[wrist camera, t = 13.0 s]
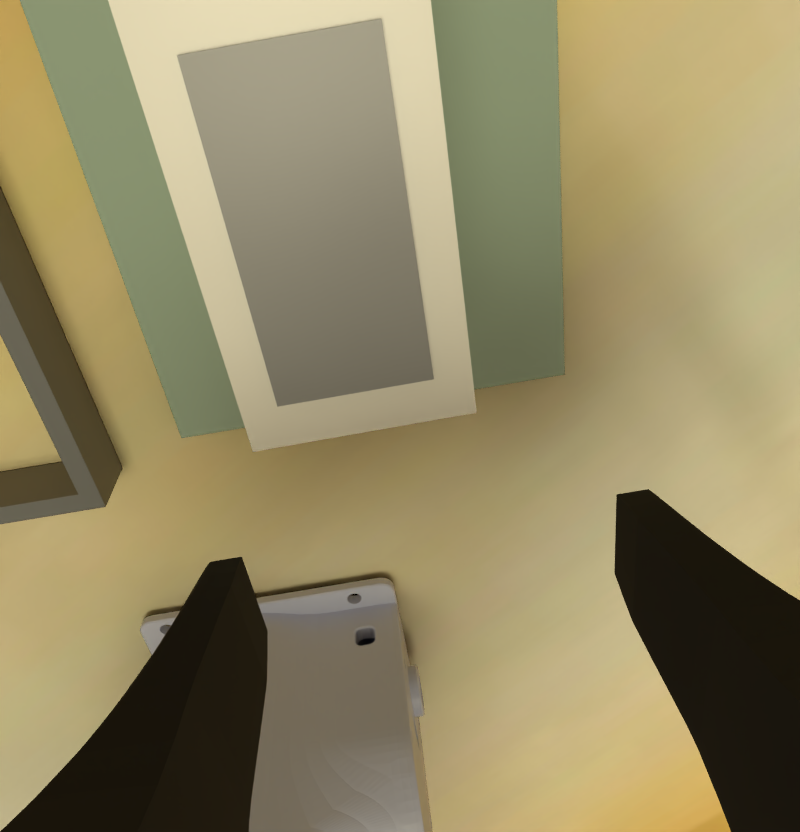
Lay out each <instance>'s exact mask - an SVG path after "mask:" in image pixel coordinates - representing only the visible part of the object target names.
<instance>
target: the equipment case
mask: <svg viewBox="0 0 800 832" xmlns="http://www.w3.org/2000/svg"><path fill="white" fill-rule="evenodd" d="M0 335H1V337H2V339H3V341H4V343H5V345H6V347H7V349H8V351H9V353H10V355H11V357H12V359H13V361H14V363H15V366H16V368H17V370H18V372H19V374H20V376H21V378H22V380H23V382H24V384H25V386H26V388H27V390H28V392H29V394H30V396H31V398H32V400H33V402H34V404H35V407H36V409H37V411H38V413H39V415H40V417H41V419H42V421H43V423H44V425H45V427H46V429H47V431H48V433H49V435H50V437H51V439H52V441H53V443H54V445H55V448H56V450H57V452H58V454H59V456H60V458H61V460H62V462H59V463H53V464H47V465H41V466H35V467H29V468H23V469H17V470H11V471H5V472H0V524H5V523H11V522H17V521H23V520H29V519H35V518H41V517H47V516H53V515H59V514H65V513H71V512H77V511H83V510H89V509H95V508H101V507H106V505H107V502H108V500H109V498H110V495H111V493H112V491H113V488H114V486H115V484H116V481H117V479H118V477H119V475H120V472H121V470H122V466H121V464H120V462H119V459H118V457H117V455H116V452H115V450H114V448H113V445H112V443H111V441H110V439H109V436H108V434H107V432H106V429H105V427H104V425H103V422H102V420H101V418H100V416H99V413H98V411H97V409H96V406H95V404H94V402H93V399H92V397H91V395H90V393H89V390H88V388H87V386H86V383H85V381H84V379H83V376H82V374H81V372H80V370H79V367H78V365H77V363H76V360H75V358H74V356H73V353H72V351H71V349H70V347H69V344H68V342H67V340H66V337H65V335H64V333H63V330H62V328H61V326H60V324H59V321H58V319H57V317H56V314H55V312H54V310H53V307H52V305H51V303H50V301H49V298H48V296H47V294H46V291H45V289H44V287H43V284H42V282H41V280H40V278H39V275H38V273H37V271H36V268H35V266H34V264H33V261H32V259H31V257H30V255H29V252H28V250H27V248H26V245H25V243H24V241H23V238H22V236H21V234H20V232H19V229H18V227H17V225H16V222H15V220H14V218H13V215H12V213H11V211H10V209H9V206H8V204H7V202H6V199H5V197H4V195H3V192H2V190H1V188H0Z"/></svg>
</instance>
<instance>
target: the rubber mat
mask: <svg viewBox="0 0 800 832" xmlns="http://www.w3.org/2000/svg"><path fill="white" fill-rule="evenodd" d="M20 2H21V5H22V7H23V10H24V13H25V16H26V18H27V21H28V24H29V26H30V29H31V32H32V35H33V37H34V40H35V43H36V45H37V48H38V51H39V53H40V56H41V59H42V62H43V64H44V67H45V70H46V72H47V75H48V78H49V81H50V83H51V86H52V89H53V91H54V94H55V97H56V99H57V102H58V105H59V108H60V110H61V113H62V116H63V118H64V121H65V124H66V127H67V129H68V132H69V135H70V137H71V140H72V143H73V146H74V148H75V151H76V154H77V156H78V159H79V162H80V164H81V167H82V170H83V173H84V175H85V178H86V181H87V183H88V186H89V189H90V192H91V194H92V197H93V200H94V202H95V205H96V208H97V211H98V213H99V216H100V219H101V221H102V224H103V227H104V229H105V232H106V235H107V238H108V240H109V243H110V246H111V248H112V251H113V254H114V257H115V259H116V262H117V265H118V267H119V270H120V273H121V276H122V278H123V281H124V284H125V286H126V289H127V292H128V294H129V297H130V300H131V303H132V305H133V308H134V311H135V313H136V316H137V319H138V322H139V324H140V327H141V330H142V332H143V335H144V338H145V341H146V343H147V346H148V349H149V351H150V354H151V357H152V359H153V362H154V365H155V368H156V370H157V373H158V376H159V378H160V381H161V384H162V387H163V389H164V392H165V395H166V397H167V400H168V403H169V405H170V408H171V411H172V414H173V416H174V419H175V422H176V424H177V427H178V430H179V433H180V435H181V438H185V437H192V436H198V435H204V434H210V433H216V432H222V431H228V430H234V429H240V428H245V426H244V423H243V420H242V416H241V413H240V410H239V407H238V404H237V401H236V398H235V395H234V392H233V388H232V385H231V382H230V379H229V376H228V373H227V370H226V367H225V364H224V360H223V357H222V354H221V351H220V348H219V345H218V342H217V339H216V336H215V332H214V329H213V326H212V323H211V320H210V317H209V314H208V311H207V307H206V304H205V301H204V298H203V295H202V292H201V289H200V286H199V283H198V279H197V276H196V273H195V270H194V267H193V264H192V261H191V258H190V255H189V251H188V248H187V245H186V242H185V239H184V236H183V233H182V230H181V227H180V223H179V220H178V217H177V214H176V211H175V208H174V205H173V202H172V199H171V195H170V192H169V189H168V186H167V183H166V180H165V177H164V174H163V171H162V167H161V164H160V161H159V158H158V155H157V152H156V149H155V146H154V143H153V139H152V136H151V133H150V130H149V127H148V124H147V121H146V118H145V115H144V111H143V108H142V105H141V102H140V99H139V96H138V93H137V90H136V86H135V83H134V80H133V77H132V74H131V71H130V68H129V65H128V62H127V58H126V55H125V52H124V49H123V46H122V43H121V40H120V37H119V34H118V30H117V27H116V24H115V21H114V18H113V15H112V12H111V9H110V6H109V2H108V0H20ZM431 7H432V16H433V25H434V34H435V43H436V52H437V61H438V70H439V79H440V88H441V96H442V105H443V114H444V123H445V132H446V141H447V150H448V159H449V168H450V177H451V186H452V195H453V204H454V213H455V222H456V231H457V240H458V249H459V258H460V267H461V276H462V285H463V294H464V303H465V312H466V321H467V330H468V339H469V348H470V357H471V366H472V375H473V384H474V389H480V388H486V387H492V386H498V385H504V384H510V383H516V382H522V381H528V380H534V379H541V378H547V377H553V376H559V375H565V367H564V319H563V271H562V222H561V174H560V126H559V77H558V29H557V0H431Z"/></svg>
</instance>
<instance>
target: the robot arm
mask: <svg viewBox="0 0 800 832" xmlns="http://www.w3.org/2000/svg"><path fill="white" fill-rule="evenodd" d="M615 575H616V578H617V581H618V584H619V586H620V589H621V592H622V595H623V597H624V600H625V603H626V605H627V608H628V611H629V613H630V616H631V618H632V621H633V623H634V625H635V627H636V629H637V631H638V633H639V635H640V637H641V639H642V641H643V642H644V644H645V646H646V648H647V650H648V652H649V654H650V656H651V658H652V660H653V662H654V664H655V666H656V667H657V669H658V671H659V673H660V675H661V677H662V679H663V681H664V683H665V685H666V686H667V688H668V690H669V692H670V694H671V696H672V698H673V700H674V702H675V704H676V705H677V707H678V709H679V711H680V713H681V715H682V717H683V719H684V721H685V723H686V724H687V726H688V729H689V731H690V733H691V735H692V737H693V739H694V741H695V743H696V745H697V748H698V750H699V752H700V755H701V757H702V759H703V762H704V764H705V767H706V769H707V772H708V774H709V777H710V779H711V782H712V784H713V787H714V789H715V791H716V794H717V796H718V799H719V801H720V804H721V806H722V809H723V812H724V814H725V817H726V819H727V822H728V824H729V827H730V830H731V832H800V600H798V599H797V598H795V597H793V596H792V595H790V594H788V593H787V592H785V591H784V590H782V589H781V588H779V587H778V586H776V585H775V584H773V583H772V582H770V581H769V580H767V579H766V578H764V577H763V576H761V575H760V574H758V573H757V572H755V571H754V570H753V569H751V568H750V567H748V566H747V565H745V564H744V563H743V562H741V561H740V560H739V559H737V558H736V557H735V556H733V555H732V554H731V553H729V552H728V551H726V550H725V549H724V548H722V547H721V546H720V545H718V544H717V543H716V542H714V541H713V540H712V539H711V538H709V537H708V536H707V535H705V534H704V533H703V532H702V531H700V530H699V529H698V528H696V527H695V526H694V525H693V524H691V523H690V522H689V521H688V520H686V519H685V518H684V517H683V516H681V515H680V514H679V513H678V512H676V511H675V510H674V509H673V508H672V507H670V506H669V505H668V504H667V503H665V502H664V501H663V500H662V499H660V498H659V497H658V496H657V495H655V494H654V493H653V492H651V491H650V490H649V489H648V490H641V491H635V492H629V493H623V494H617V503H616V541H615ZM351 594H359V595H356V596H351ZM166 625H171V626H166ZM140 631H141V634H142V636H143V638H144V641H145V643H146V645H147V647H148V649H149V651H150V653H151V655H152V656H151V657H150V659H149V660H148V662H147V663H146V665H145V666H144V667H143V669H142V670H141V672H140V673H139V675H138V676H137V677H136V679H135V680H134V682H133V683H132V684H131V686H130V687H129V689H128V690H127V691H126V693H125V694H124V696H123V697H122V698H121V700H120V701H119V702H118V704H117V705H116V706H115V707H114V709H113V710H112V711H111V713H110V714H109V715H108V717H107V718H106V719H105V720H104V722H103V723H102V724H101V725H100V726H99V728H98V729H97V730H96V731H95V733H94V734H93V735H92V736H91V737H90V739H89V740H88V741H87V742H86V743H85V745H84V746H83V747H82V748H81V749H80V750H79V751H78V753H77V754H76V755H75V756H74V757H73V758H72V759H71V760H70V761H69V762H68V764H67V765H66V766H65V767H64V768H63V769H62V770H61V771H60V772H59V773H58V774H57V775H56V776H55V777H54V778H53V779H52V781H51V782H50V783H49V784H48V785H47V786H46V787H45V788H44V789H43V790H42V791H41V792H40V793H39V794H38V795H37V796H36V798H34V799H33V800H32V801H31V802H30V803H29V804H28V805H27V806H26V807H25V808H24V809H23V810H22V811H21V812H20V813H19V814H18V815H17V816H16V817H15V818H14V819H13V820H12V821H11V822H10V823H9V824H8V825H7V826H6V827H5V828H4V829H2V830H1V831H0V832H432V823H431V815H430V807H429V798H428V790H427V782H426V773H425V765H424V757H423V749H422V740H421V732H420V724H419V717H420V716H424V714H425V712H424V703H423V696H422V690H421V683H420V677H419V672H418V667H417V666H416V665H413V666H410V662H409V657H408V652H407V648H406V643H405V638H404V633H403V628H402V623H401V618H400V613H399V608H398V603H397V599H396V594H395V589H394V585H393V583H392V581H390V580H389V579H386V578H374V579H368V580H362V581H356V582H350V583H344V584H338V585H332V586H326V587H320V588H314V589H308V590H302V591H296V592H290V593H284V594H278V595H272V596H266V597H259V598H256V596H255V593H254V591H253V588H252V585H251V582H250V579H249V576H248V574H247V571H246V568H245V565H244V562H243V559H242V557H238V558H232V559H226V560H219V561H213V562H210V563H209V564H208V565H207V567H206V568H205V570H204V572H203V573H202V575H201V577H200V578H199V580H198V582H197V583H196V585H195V587H194V589H193V590H192V592H191V594H190V595H189V597H188V599H187V600H186V602H185V604H184V605H183V607H182V609H181V610H180V611H175V612H169V613H163V614H157V615H151V616H148V617H146V618H145V619H144V620H143V622H142V625H141V628H140Z"/></svg>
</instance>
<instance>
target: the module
mask: <svg viewBox="0 0 800 832" xmlns="http://www.w3.org/2000/svg"><path fill="white" fill-rule="evenodd" d="M108 2H109V6H110V9H111V12H112V15H113V18H114V21H115V24H116V27H117V30H118V34H119V37H120V40H121V43H122V46H123V49H124V52H125V55H126V58H127V62H128V65H129V68H130V71H131V74H132V77H133V80H134V83H135V86H136V90H137V93H138V96H139V99H140V102H141V105H142V108H143V111H144V115H145V118H146V121H147V124H148V127H149V130H150V133H151V136H152V139H153V143H154V146H155V149H156V152H157V155H158V158H159V161H160V164H161V167H162V171H163V174H164V177H165V180H166V183H167V186H168V189H169V192H170V195H171V199H172V202H173V205H174V208H175V211H176V214H177V217H178V220H179V223H180V227H181V230H182V233H183V236H184V239H185V242H186V245H187V248H188V251H189V255H190V258H191V261H192V264H193V267H194V270H195V273H196V276H197V279H198V283H199V286H200V289H201V292H202V295H203V298H204V301H205V304H206V307H207V311H208V314H209V317H210V320H211V323H212V326H213V329H214V332H215V336H216V339H217V342H218V345H219V348H220V351H221V354H222V357H223V360H224V364H225V367H226V370H227V373H228V376H229V379H230V382H231V385H232V388H233V392H234V395H235V398H236V401H237V404H238V407H239V410H240V413H241V416H242V420H243V423H244V426H245V429H246V432H247V435H248V438H249V441H250V444H251V448H252V451H253V452H256V451H261V450H267V449H273V448H279V447H284V446H290V445H296V444H301V443H307V442H313V441H319V440H324V439H330V438H336V437H341V436H347V435H353V434H359V433H364V432H370V431H376V430H382V429H387V428H393V427H399V426H404V425H410V424H416V423H422V422H427V421H433V420H439V419H444V418H450V417H456V416H462V415H467V414H473V413H477V411H476V402H475V393H474V384H473V375H472V366H471V357H470V348H469V339H468V330H467V321H466V312H465V303H464V294H463V285H462V276H461V267H460V258H459V249H458V240H457V231H456V222H455V213H454V204H453V195H452V186H451V177H450V168H449V159H448V150H447V141H446V132H445V123H444V114H443V105H442V96H441V88H440V79H439V70H438V61H437V52H436V43H435V34H434V25H433V16H432V7H431V0H108Z"/></svg>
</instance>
